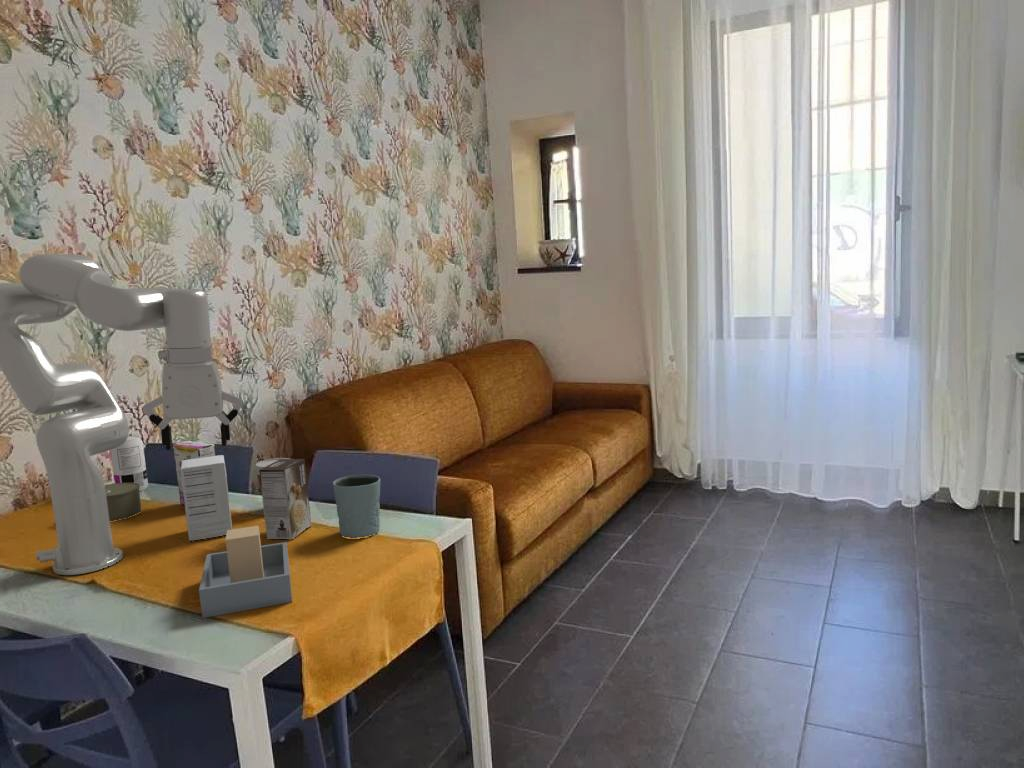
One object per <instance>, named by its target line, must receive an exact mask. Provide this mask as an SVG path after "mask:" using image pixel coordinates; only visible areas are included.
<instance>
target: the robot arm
mask: <svg viewBox="0 0 1024 768" xmlns="http://www.w3.org/2000/svg"><path fill="white" fill-rule="evenodd" d="M18 271H19V272H18V273H19V279H20V282H4V283H3V282H1V283H0V370H1V372H2V373H3V375H4V377H5V378H6V380H7V382H8V384H9V385H10V386H11V388H12V390H13V391H14V393H15V394H16V396H17V398H18V400H19V402H20V403H21V404H22V406H23V408H24V409H26V411H28V412H29V413H30V414H33V415H36V416H37V415H38V416H45V415H51V414H57V413H61V412H65V411H70V410H71V412H66V413H62V414H59V415H56V416H54V417H50V418H48V419H47V420H45V421H44V422H43V423H42V424H41V425H40V426H39V427H38V429H37V430H36V431H37V432H36V437H35V438H36V440H35V441H36V445H37V449H38V451H39V453H40V456H41V459H42V461H43V465H44V467H45V471H46V475H47V479H48V485H49V493H50V499H51V502H52V503H51V505H52V509H53V515H54V522H55V530H56V536H57V542H58V543H57V544H58V546H55V547H54V548H53V549H44V550H43V549H42V550H37V551H36V553H35V554H36V556H35V558H36V560H37V561H39V562H40V563H47V562H52V561H53V562H54V563H53V564H52V571H53V572H54V573H55V574H56V575H61V576H74V575H75V576H76V575H84V574H87V573H89V574H90V573H92V572H93V573H94V572H96V571H101V570H103V568H104V569H106V568H108V566H109V567H110V566H111V567H112V566H113V565H116V564H117V563H118V562H120V561H121V560H122V559H123V557H124V552H123V550H122V549H121V548H118V547H114V543H113V536H112V529H111V528H112V527H111V522H110V520H109V513H108V505H107V498H106V491H105V485H106V484H105V480H104V476H103V473H102V472H101V470H100V468H99V467H98V466H97V465H96V464H95V463H94V461H93V460H92V458H91V457H92V456H94V455H99V454H101V453H104V452H108V451H110V450H111V449H114V448H117V447H119V446H121V445H122V444H123V443H124V442H125V441H126V440H127V438H128V436H130V435H129V434H130V433H129V432H130V428H129V422H128V419H127V417H126V415H125V413H124V411H123V410H122V408H121V406H120V404H119V403H118V402H117V399H116V398H115V396H114V395H113V393H112V391H111V390H110V388H109V387H108V385H107V383H106V382H105V380H104V378H103V377H102V376H101V374H100V373H99V372H98V371H97V370H96V369H94V368H93V367H91V366H90V365H87V364H85V363H80V362H78V363H77V362H75V363H74V362H73V363H72V362H71V363H66V364H57V363H56V362H54V361H53V360H52V358H51V357H50V356H49V354H48V353H47V351H46V349H45V347H44V346H43V345H42V344H41V343H40V342H39V341H38V340H37V339H36V338H35V337H33V336H32V335H31V334H29V333H28V332H26V331H24V330H22V329H21V328H20V327H19V325H20V326H23V325H36V324H44V323H47V324H48V323H53V322H57V321H60V320H62V319H64V318H66V317H67V316H69V315H70V314H72V313H73V311H75V310H76V309H78V310H79V312H80V314H81V315H82V316H83V317H84V318H85V319H87V320H88V321H89V322H92V323H94V324H97V325H100V326H103V327H106V328H108V329H109V328H110V329H113V330H117V331H122V332H123V331H124V332H132V331H133V332H134V331H143V330H151V329H162V328H164V331H165V343H166V349H165V350H164V349H163V350H162V351H161V350H160V351H158V358H159V359H164V360H165V361H166V362H167V363H166V364H164V365H163V366H162V367H163V368H162V377H161V395H160V396H158V397H157V398H154V399H153V400H151V401H149V402H147V403H146V404H144V405H143V406H142V411H143V412H144V414H145V415H146V416H147V417H148V420H149V421H150V422H152V423H153V424H154V425H155V426H157V427H158V429H160V434H161V444H162V446H165V451H170V450H171V449H173V436H172V426H171V425H170V424H169V423H170V422H171V421H172V420H187V419H190V420H191V419H204V418H206V419H207V418H214V417H216V418H217V419H218V420H219V421H220V422H221V424H220V426H219V427H220V439H221V446H223V447H226V446H227V443H228V441H231V431H230V423H231V422H232V421H233V420H234V419H235V418H236V417H237V416H238V414H239V413H240V410H241V408H242V406H243V403H244V399H243V398H240V397H238V396H235V395H233V394H230V393H227V392H226V391H223V389H222V382H221V376H220V373H219V372H220V371H219V367H218V365H217V362H216V361H213V352H212V342H211V341H212V340H211V327H210V326H211V325H210V314H209V302H208V301H209V300H208V296H207V293H206V292H205V290H202V289H199V288H172V287H171V288H170V287H138V288H137V287H136V288H135V287H133V288H120V287H115V286H113V283H112V279H111V277H110V275H109V274H108V273H107V272H106V271H104V270H103V269H101V268H100V266H99V264H98V263H96V261H95V260H94V259H93V258H91V257H90V256H87V255H84V254H79V253H41V254H36V255H32V256H31V257H28V258H27V259H25V260H24V261H23V263H22V265H20V268H19V270H18ZM224 401H226V402H228V403H230V404H233V407H232V409H231V410H230V411H229V412H228V413H227V412H225V410H224ZM161 404H162V414H163V416H164V417H163V418H162V417H161V416H160V415H158V413H156V412H155V410H154V409H155V408H157V407H158V406H160V405H161ZM74 409H75V410H76V411H72V410H74ZM119 560H120V561H119ZM116 562H117V563H116Z"/></svg>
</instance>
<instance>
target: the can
mask: <svg viewBox="0 0 1024 768" xmlns="http://www.w3.org/2000/svg"><path fill="white" fill-rule="evenodd" d="M104 485H105V491H106V498H107V505H108V513H109V520H110V521H114V520H119V519H124V518H128V517H130V516H133V515H135V514H137V513H139V512H141V510H142V503H141V495H140V492H139V487H140V486H139V484H137V483H116V484H115V483H111V484H104ZM141 513H142V512H141Z"/></svg>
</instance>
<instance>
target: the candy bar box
mask: <svg viewBox="0 0 1024 768" xmlns="http://www.w3.org/2000/svg"><path fill="white" fill-rule="evenodd" d="M215 445H216V444H215V443H210V442H209V443H208V442H203V441H202V442H200V441H194V440H185V441H181V442H176V443H172V449H173V457H174V464H175V471H176V477H177V478H176V479H177V485H178V486H177V487H178V494H179V502H180V505H181V506H184V507H185V502H184V495H183V488H182V480H181V471H180V469H181V465H182V460H189V459H196V458H204V457H211V456H217V453H216V446H215Z"/></svg>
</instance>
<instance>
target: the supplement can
mask: <svg viewBox="0 0 1024 768" xmlns="http://www.w3.org/2000/svg"><path fill="white" fill-rule="evenodd" d="M144 450H145V449H144V442H143V440H142V439H141V437H140V436H139V435H128V438H127V440H126V441H125V442H124V443H123V444H122V445H121V446H119V447H117V448H114V449H111V450H109V451H110V455H111V456H110V457H111V465H112V472H113V479H114V484H116V483H137V484H139V486H140V487H139V493H140V492H142V491H145V490H146V489H147V488H148V487H149V480H148V472H147V467H146V466H147V464H146V459H145V451H144Z"/></svg>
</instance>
